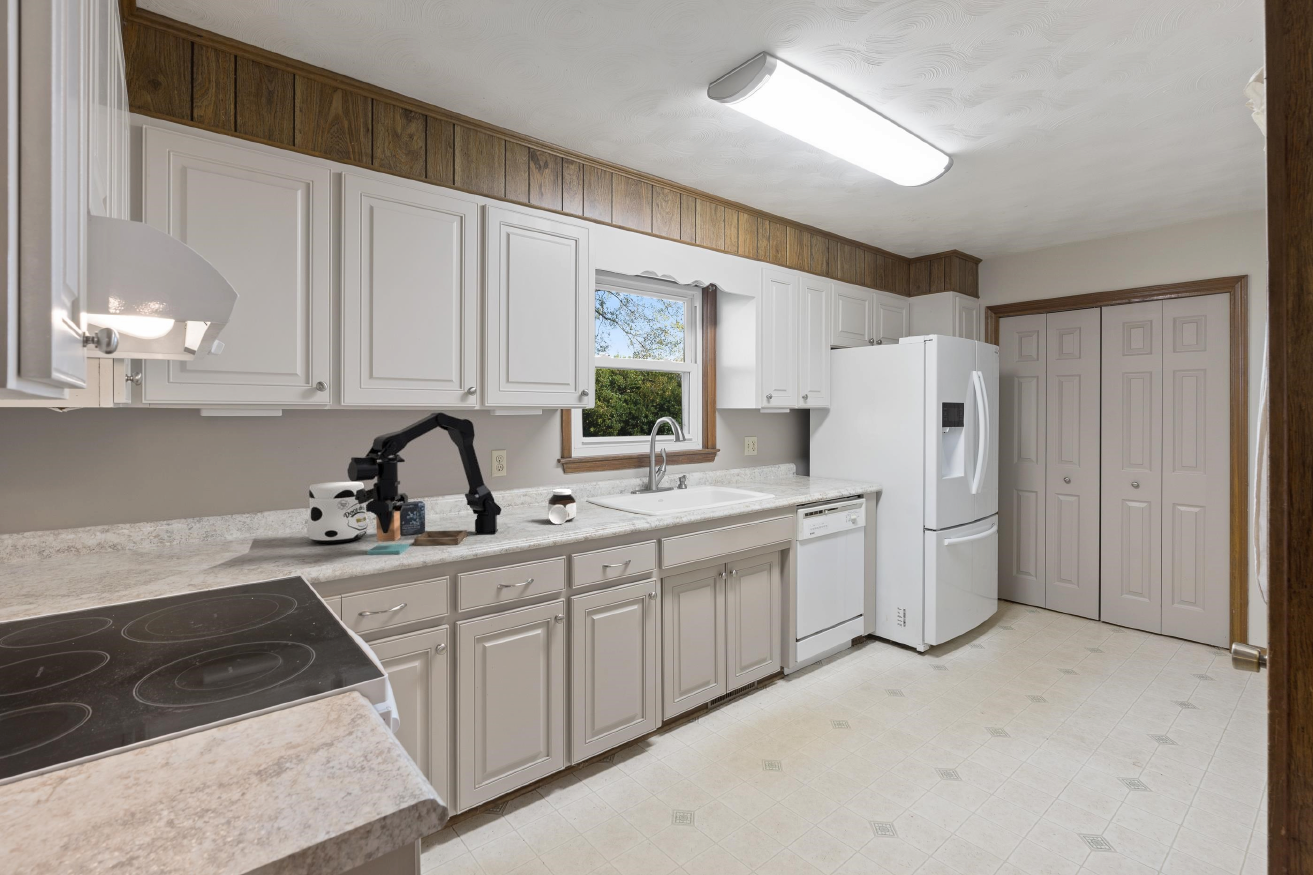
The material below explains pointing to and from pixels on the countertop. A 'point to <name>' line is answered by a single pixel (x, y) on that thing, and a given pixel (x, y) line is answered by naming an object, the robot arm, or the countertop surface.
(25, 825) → the countertop surface
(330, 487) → the milk container
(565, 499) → the spread jar
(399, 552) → the plate
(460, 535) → the pocket frame
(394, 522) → the block
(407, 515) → the box
